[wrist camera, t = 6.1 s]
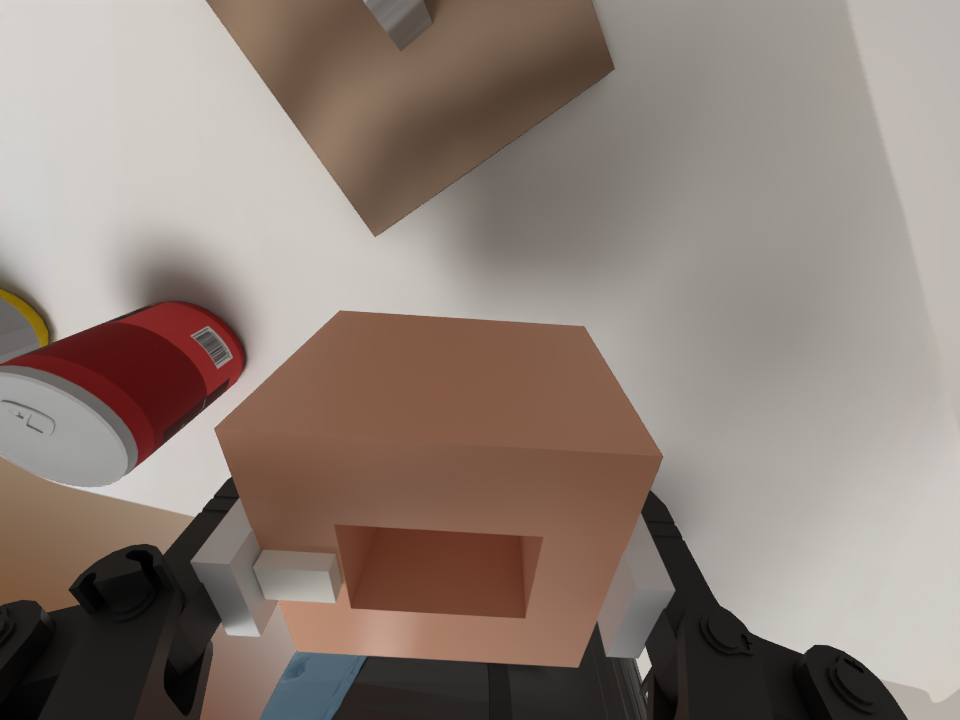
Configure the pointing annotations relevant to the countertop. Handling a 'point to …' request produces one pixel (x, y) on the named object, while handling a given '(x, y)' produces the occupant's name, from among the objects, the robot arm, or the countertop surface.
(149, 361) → the canned food
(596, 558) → the orange open box
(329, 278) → the countertop surface
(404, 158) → the base plate
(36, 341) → the soap bottle
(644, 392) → the countertop surface
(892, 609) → the countertop surface
